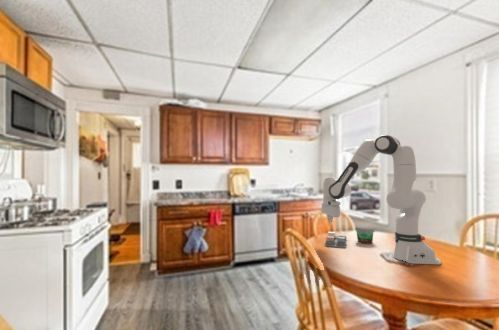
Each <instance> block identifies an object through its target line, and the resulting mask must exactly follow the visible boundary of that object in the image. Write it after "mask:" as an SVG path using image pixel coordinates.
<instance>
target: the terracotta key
mask: <svg viewBox="0 0 499 330" xmlns="http://www.w3.org/2000/svg"><path fill="white" fill-rule="evenodd" d="M326 240H327V241H330V242H334V236H326Z"/></svg>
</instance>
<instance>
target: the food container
mask: <svg viewBox="0 0 499 330" xmlns="http://www.w3.org/2000/svg"><path fill="white" fill-rule="evenodd" d="M355 232H356V238H357V242H358V243H361V244H364V245H365V244H367V245H370V244H373V237H374V233H375V229H374V227H373V228H366V227H362V228H360V227H355Z"/></svg>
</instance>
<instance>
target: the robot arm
mask: <svg viewBox="0 0 499 330" xmlns="http://www.w3.org/2000/svg"><path fill="white" fill-rule="evenodd" d="M378 154H384V155H387V156H389V155H390V156H391V157H392V161H393V181H392V184H391V185H392V186H391V189H390V191H389V192H388V194H387V195H386V203H387V205H388V206H389V207H390V208H392V209H395V210H399V212H398V214H397V216H396V217H395V232H394V242H395V244H394V245H395V246H394V252H393V254H392V255H393V256H392V257H393V258H395V259H397V260H399V261H402V260H403V262H405V261H406V263H407V264H416V265H417V264H418V265H419V264H420V265H437V266H438V265H441V264H442V261H441V259H440V258H438V257H437V255H436V253H435V250H434V249H433V248H432V247H431V246H430V245H428V244H427V243H426V242H424V241H425V240H426V237H425V236H424V235H421V234H420V233H419V221H420V219H419V218H420V215H421V210H422V207H423V205H424V204H425V203H426V199H427V198H426V195H425V193H424V192H423V191H421V190H419V189H415V188H413V184H414V182H415V181H416V179H417V167H416V164H417V163H416V157H415V153H414V148H412V146H409V145H401V142H400V140H398V138H396V137H394V136H392V135H389V134H382V135H380V136H378V137H377V138H376V139H375V140H374V139H370V138H369V139H365V140H364V141H363V142H362V143H361V144H360V145H359V147H358V148H357V149H356V151H355V153H354V155H353V156H352V157H351V160H350V161H349V162H348V164H347V166H346V167H345V169H344V170H343V171H342V173H341V175H340V176H339V177H338V178H336V177H328V178H325V179H324V180H323V183H322V185H323V186H322V187H323V189H322V191H323V196H322V197H323V199H322V203H321V213H322V214H324V215H326V217H327V222H330V223H333V220H334V218H339V217H340V216H341V202H340V201H339V200H340V199H343V198H347V197H349V196H350V195H351V194H352V187H351V185H350V184H349V183H350V181H351V180H352V179H353V177H354V176H356V174H358V173H359V172H362V171H365V170H366V169H367V168H369V166H370V165H371V163H372V162H373V160H374V159H375V157H376V156H377V155H378Z"/></svg>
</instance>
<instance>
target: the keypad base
mask: <svg viewBox="0 0 499 330" xmlns="http://www.w3.org/2000/svg"><path fill="white" fill-rule="evenodd" d="M327 236H328V234H327ZM327 236H326V237H327ZM347 245H348V244H347V236H346V235H345V243H343V242H338V235H335V237H334V242H330V241H327V239H325V246H326V248H336V249H337V248H339V249H346V248H347V247H346V246H347Z"/></svg>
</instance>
